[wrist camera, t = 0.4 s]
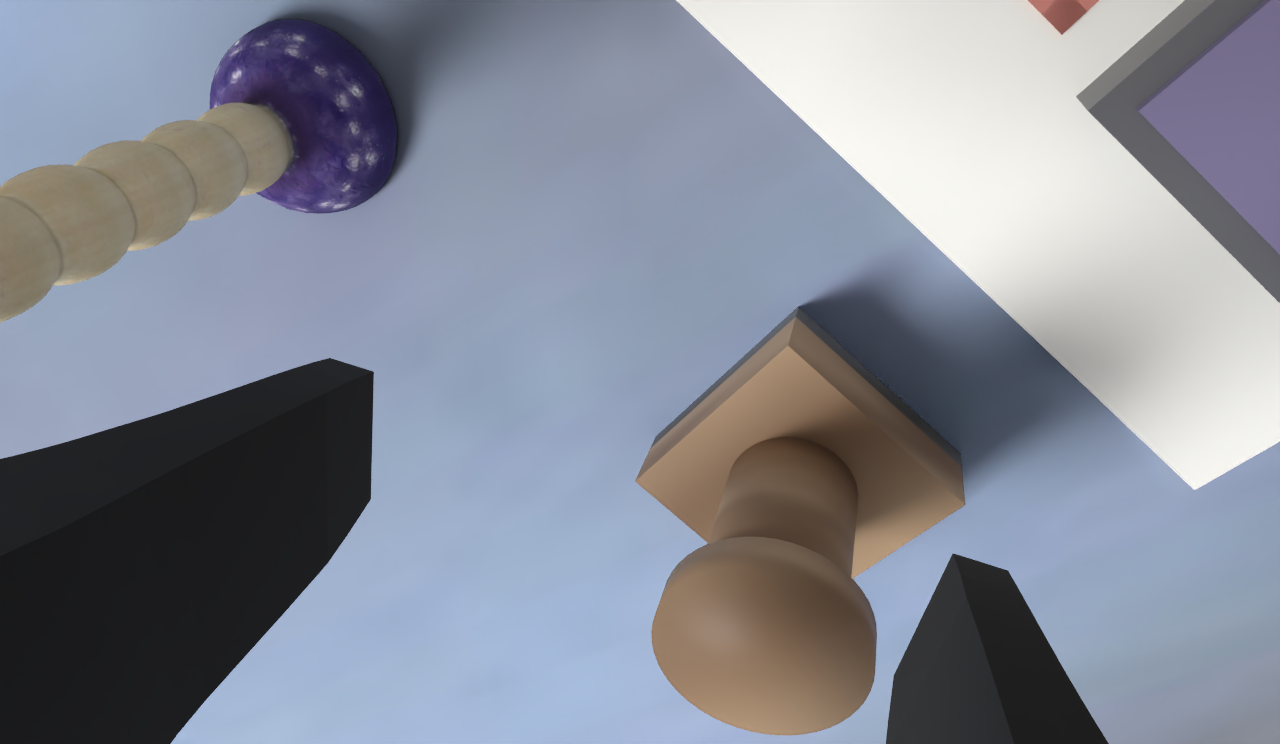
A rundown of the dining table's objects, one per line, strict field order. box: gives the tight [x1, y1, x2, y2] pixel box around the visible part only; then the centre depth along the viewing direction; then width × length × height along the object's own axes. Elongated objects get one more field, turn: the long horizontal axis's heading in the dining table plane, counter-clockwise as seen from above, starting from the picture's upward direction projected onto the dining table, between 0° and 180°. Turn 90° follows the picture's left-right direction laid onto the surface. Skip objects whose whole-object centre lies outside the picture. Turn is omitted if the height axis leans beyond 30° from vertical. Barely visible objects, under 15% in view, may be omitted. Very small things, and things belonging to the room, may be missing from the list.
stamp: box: [635, 307, 965, 735], centre depth 18 cm, size 5×5×7 cm
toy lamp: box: [0, 19, 397, 322], centre depth 13 cm, size 5×5×17 cm
